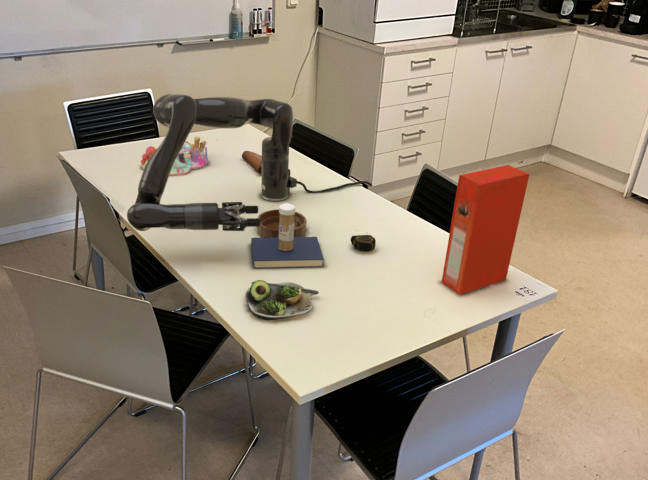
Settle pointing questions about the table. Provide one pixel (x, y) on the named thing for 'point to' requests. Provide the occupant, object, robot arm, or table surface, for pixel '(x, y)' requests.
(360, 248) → the tape measure
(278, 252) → the book
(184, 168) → the colorful candy landscape
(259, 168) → the sunglasses case
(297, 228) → the bowl
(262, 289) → the salad plate
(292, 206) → the sprinkles bottle
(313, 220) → the table surface
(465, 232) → the file binder
